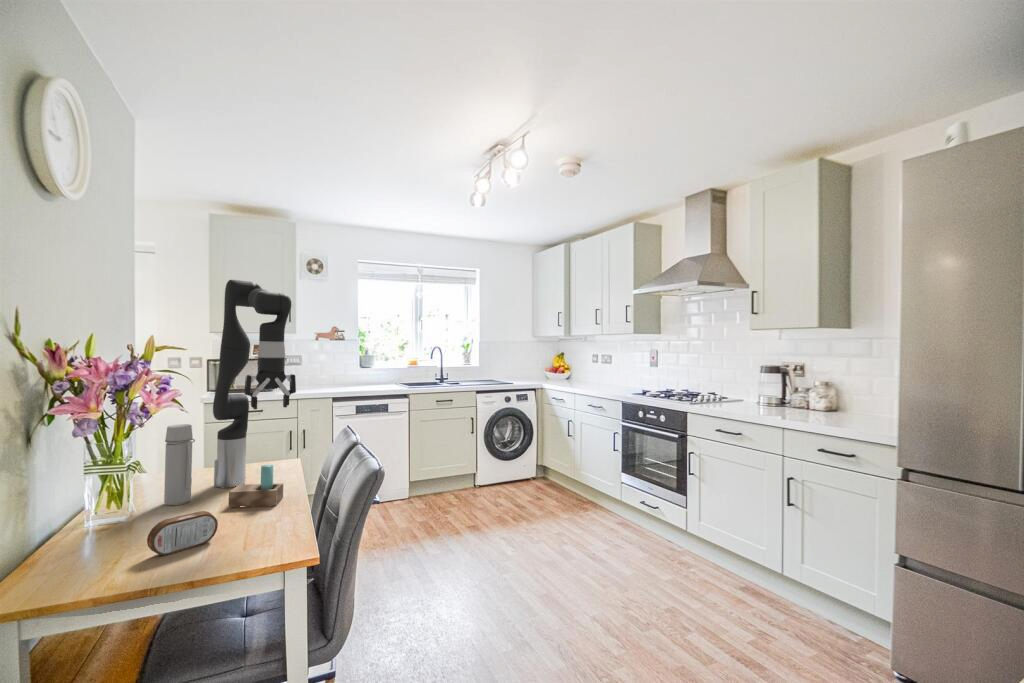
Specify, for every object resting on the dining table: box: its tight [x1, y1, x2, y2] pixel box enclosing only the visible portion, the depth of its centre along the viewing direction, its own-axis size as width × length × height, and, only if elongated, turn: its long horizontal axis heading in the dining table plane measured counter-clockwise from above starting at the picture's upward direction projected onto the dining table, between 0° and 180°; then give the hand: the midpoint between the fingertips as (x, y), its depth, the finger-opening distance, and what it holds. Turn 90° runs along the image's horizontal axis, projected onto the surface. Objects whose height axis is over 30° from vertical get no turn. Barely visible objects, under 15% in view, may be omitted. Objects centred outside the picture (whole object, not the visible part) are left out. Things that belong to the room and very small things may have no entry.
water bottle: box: [163, 423, 195, 506], centre depth 154 cm, size 9×8×25 cm
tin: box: [146, 510, 219, 556], centre depth 120 cm, size 15×3×8 cm, turn 145°
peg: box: [260, 464, 274, 490], centre depth 156 cm, size 4×4×12 cm
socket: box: [228, 482, 284, 508], centre depth 156 cm, size 14×8×5 cm, turn 101°
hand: (270, 408), depth 149 cm, fingers open, 8 cm apart
